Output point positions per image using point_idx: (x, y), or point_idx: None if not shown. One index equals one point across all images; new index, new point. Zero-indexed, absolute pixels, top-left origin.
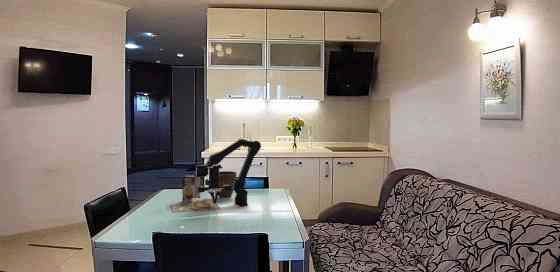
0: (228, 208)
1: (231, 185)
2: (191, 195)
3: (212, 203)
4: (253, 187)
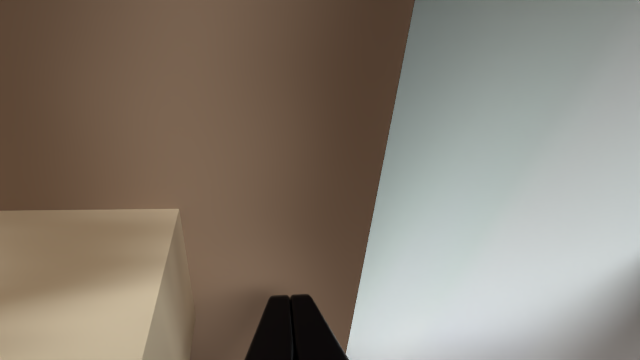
0: (475, 355)
1: None
2: None
3: (275, 27)
4: None
